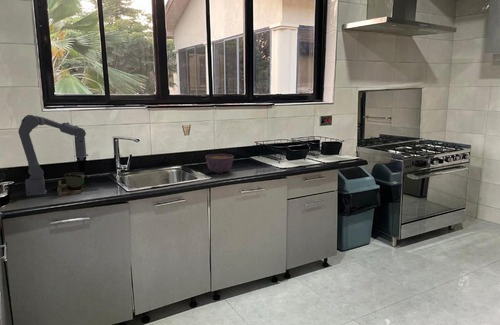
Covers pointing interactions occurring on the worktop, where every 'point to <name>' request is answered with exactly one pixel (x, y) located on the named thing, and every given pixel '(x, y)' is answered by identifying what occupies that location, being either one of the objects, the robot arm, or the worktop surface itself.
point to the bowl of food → (219, 162)
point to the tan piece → (66, 191)
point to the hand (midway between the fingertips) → (82, 170)
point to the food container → (74, 181)
